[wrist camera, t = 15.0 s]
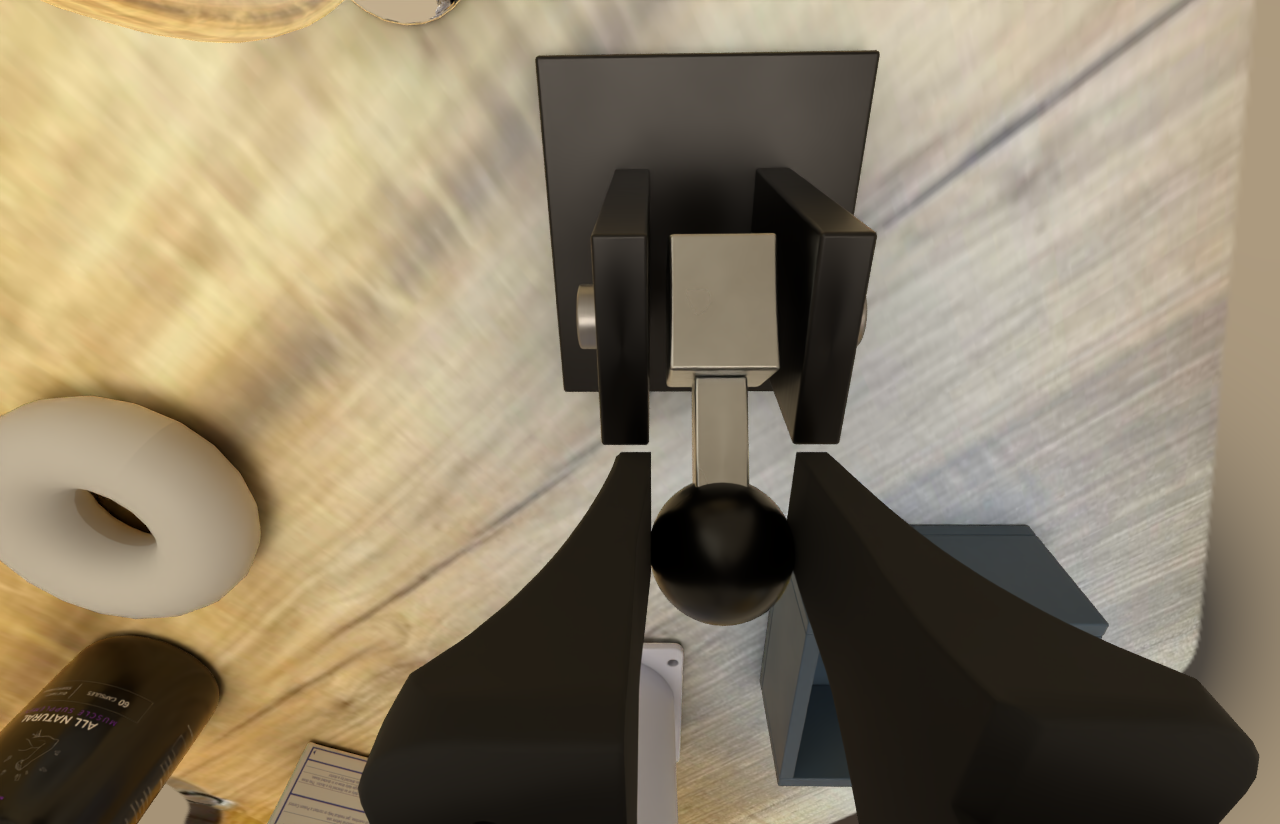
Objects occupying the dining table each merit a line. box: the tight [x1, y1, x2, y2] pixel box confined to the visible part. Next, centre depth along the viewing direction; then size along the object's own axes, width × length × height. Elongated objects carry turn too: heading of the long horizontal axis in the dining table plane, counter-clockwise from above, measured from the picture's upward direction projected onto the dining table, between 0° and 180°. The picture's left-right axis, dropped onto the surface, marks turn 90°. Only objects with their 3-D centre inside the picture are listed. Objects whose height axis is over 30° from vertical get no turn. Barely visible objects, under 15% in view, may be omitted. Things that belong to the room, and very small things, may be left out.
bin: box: [760, 525, 1109, 787], centre depth 25 cm, size 10×10×5 cm
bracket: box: [535, 50, 880, 445], centre depth 15 cm, size 10×9×9 cm
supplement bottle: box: [0, 635, 219, 824], centre depth 26 cm, size 7×7×12 cm
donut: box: [0, 396, 261, 619], centre depth 23 cm, size 10×4×10 cm
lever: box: [651, 233, 795, 626], centre depth 13 cm, size 8×3×3 cm
